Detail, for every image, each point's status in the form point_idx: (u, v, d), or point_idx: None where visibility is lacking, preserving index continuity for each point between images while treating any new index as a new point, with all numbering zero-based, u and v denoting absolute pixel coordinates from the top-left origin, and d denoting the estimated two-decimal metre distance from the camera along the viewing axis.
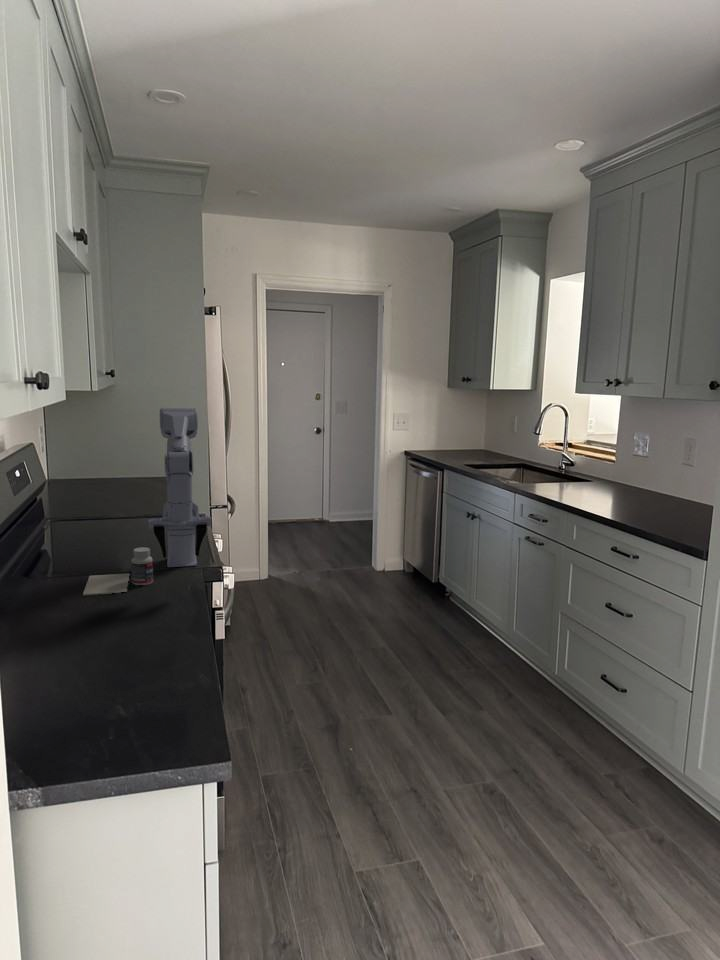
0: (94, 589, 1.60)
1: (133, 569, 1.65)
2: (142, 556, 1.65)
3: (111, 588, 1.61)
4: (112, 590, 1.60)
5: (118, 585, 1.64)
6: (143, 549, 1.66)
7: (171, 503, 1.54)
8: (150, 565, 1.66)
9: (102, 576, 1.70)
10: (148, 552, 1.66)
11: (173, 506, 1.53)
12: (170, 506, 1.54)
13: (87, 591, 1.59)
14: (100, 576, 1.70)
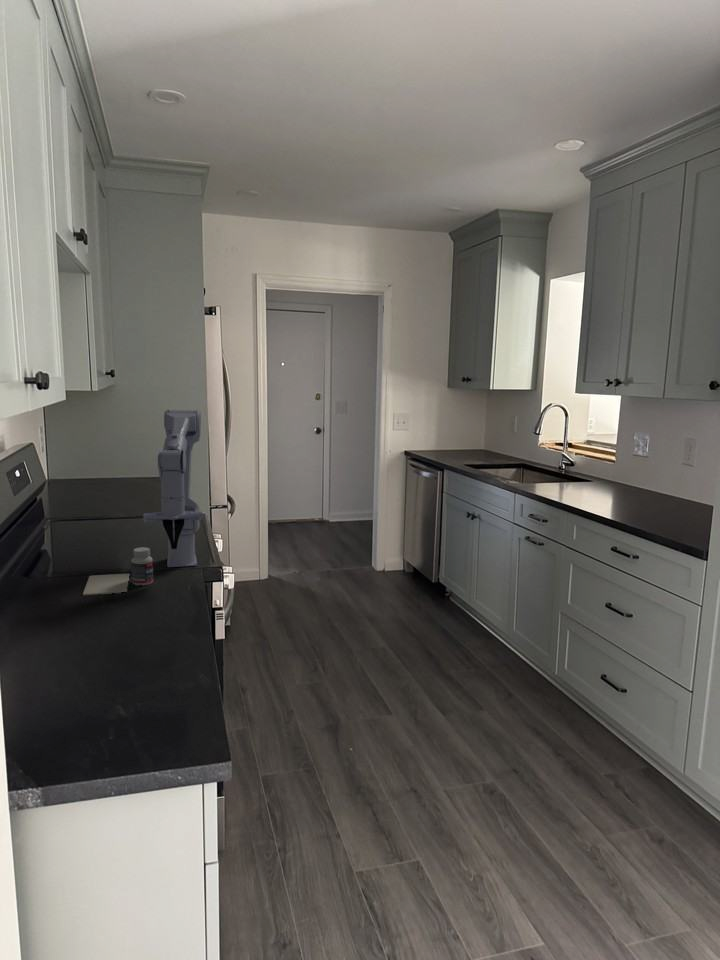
0: (94, 589, 1.60)
1: (133, 569, 1.65)
2: (142, 556, 1.65)
3: (111, 588, 1.61)
4: (112, 590, 1.60)
5: (118, 585, 1.64)
6: (143, 549, 1.66)
7: (164, 498, 1.63)
8: (151, 565, 1.66)
9: (102, 576, 1.70)
10: (148, 552, 1.66)
11: (166, 501, 1.63)
12: (163, 501, 1.64)
13: (87, 591, 1.59)
14: (100, 576, 1.70)
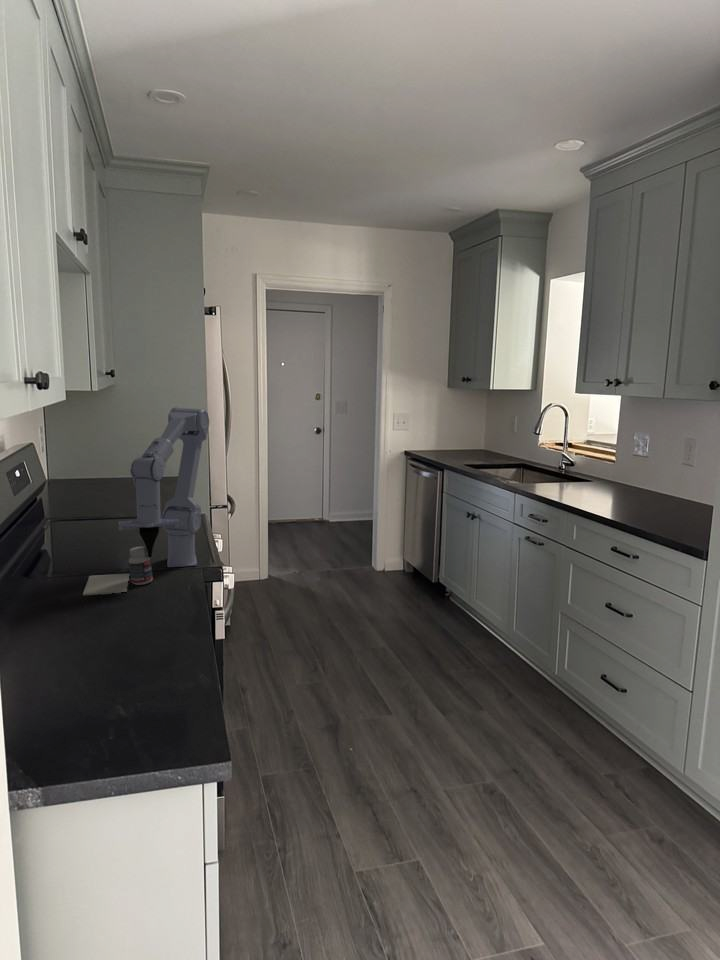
0: (94, 589, 1.60)
1: (131, 569, 1.64)
2: (139, 556, 1.64)
3: (111, 588, 1.61)
4: (112, 590, 1.60)
5: (118, 585, 1.64)
6: (139, 548, 1.66)
7: (140, 506, 1.62)
8: (148, 563, 1.66)
9: (102, 576, 1.70)
10: (144, 551, 1.65)
11: (141, 509, 1.62)
12: (139, 509, 1.62)
13: (87, 591, 1.59)
14: (100, 576, 1.70)
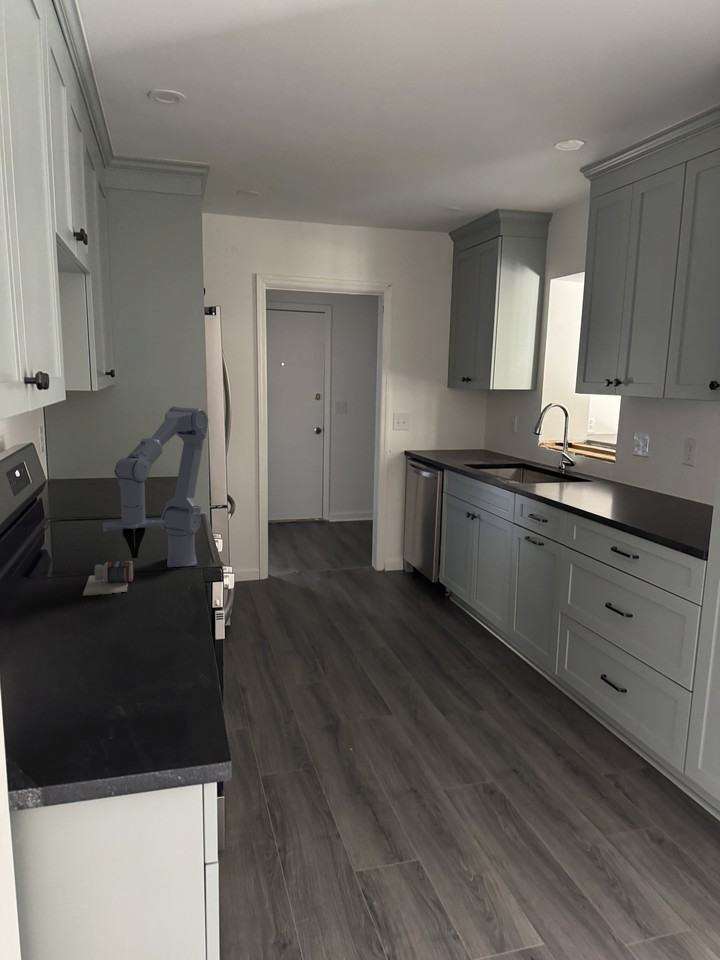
0: (94, 589, 1.60)
1: (114, 579, 1.64)
2: (100, 570, 1.64)
3: (111, 588, 1.61)
4: (112, 590, 1.60)
5: (118, 585, 1.64)
6: None
7: (124, 507, 1.61)
8: (111, 562, 1.65)
9: None
10: (97, 565, 1.64)
11: (126, 510, 1.61)
12: (123, 510, 1.61)
13: (87, 591, 1.59)
14: None
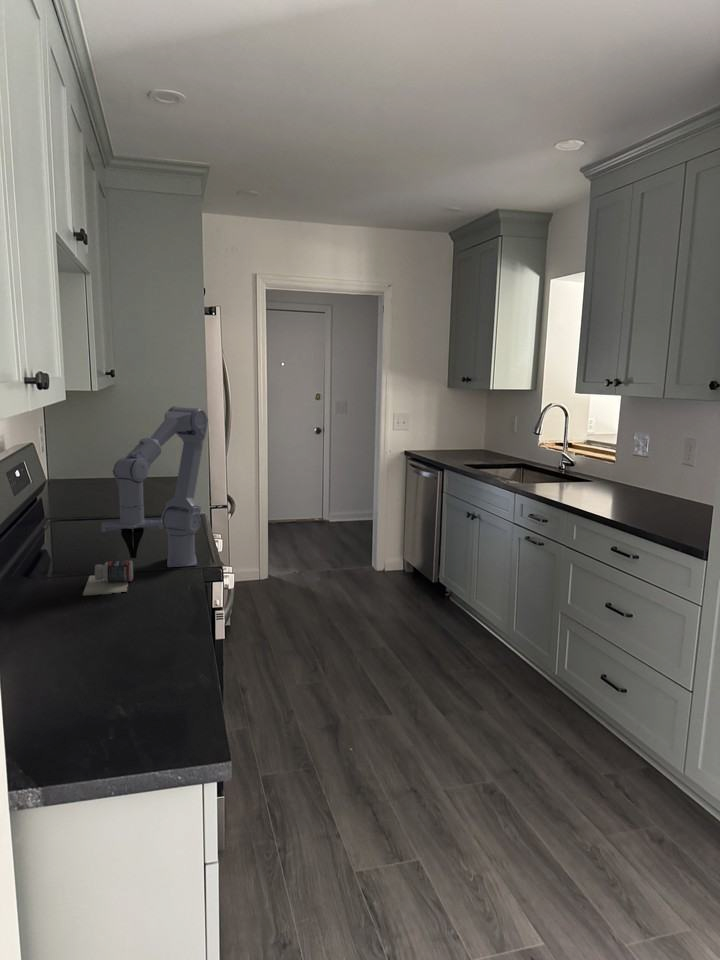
0: (94, 589, 1.60)
1: (114, 578, 1.64)
2: (100, 569, 1.64)
3: (111, 588, 1.61)
4: (112, 590, 1.60)
5: (118, 585, 1.64)
6: None
7: (122, 507, 1.61)
8: (111, 562, 1.65)
9: None
10: (97, 565, 1.65)
11: (124, 510, 1.61)
12: (122, 510, 1.61)
13: (87, 591, 1.59)
14: None
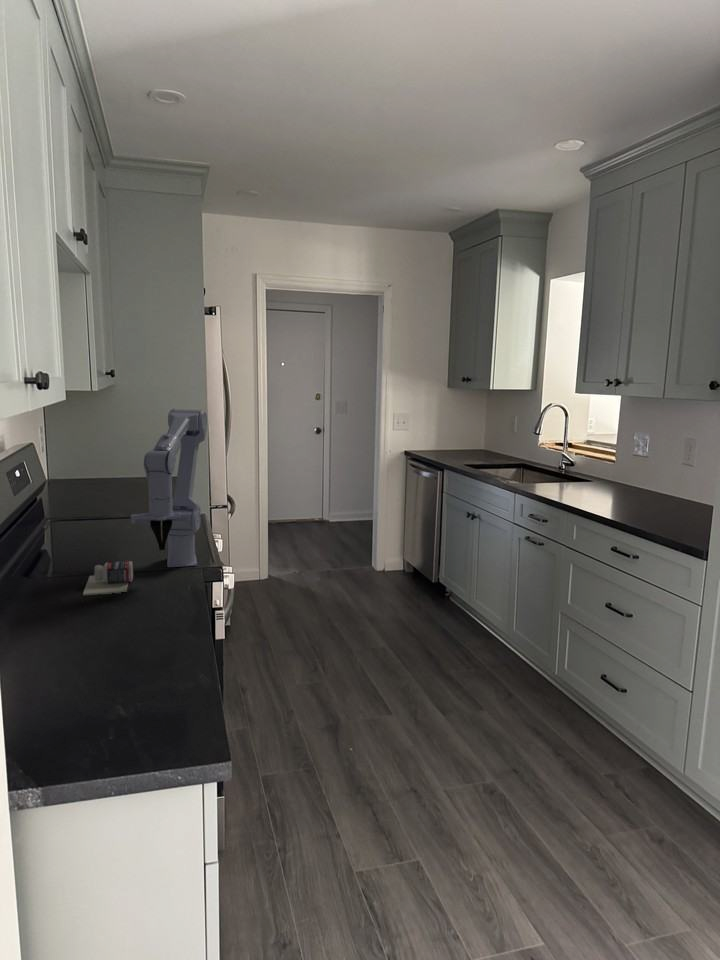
0: (94, 589, 1.60)
1: (114, 581, 1.64)
2: (100, 572, 1.63)
3: (111, 588, 1.61)
4: (112, 590, 1.60)
5: (118, 585, 1.64)
6: None
7: (152, 499, 1.62)
8: (110, 564, 1.64)
9: None
10: (97, 566, 1.64)
11: (154, 502, 1.62)
12: (151, 502, 1.63)
13: (87, 591, 1.59)
14: None
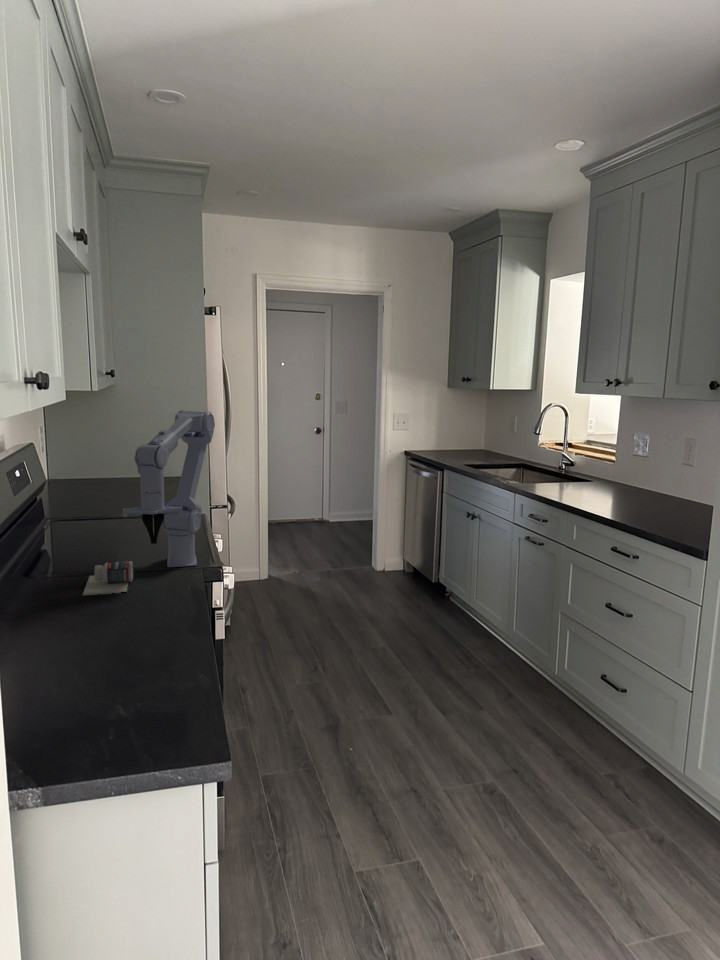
0: (94, 589, 1.60)
1: (114, 580, 1.64)
2: (100, 572, 1.63)
3: (111, 588, 1.61)
4: (112, 590, 1.60)
5: (118, 585, 1.64)
6: None
7: (144, 493, 1.64)
8: (110, 564, 1.64)
9: None
10: (97, 566, 1.64)
11: (145, 496, 1.63)
12: (143, 496, 1.64)
13: (87, 591, 1.59)
14: None
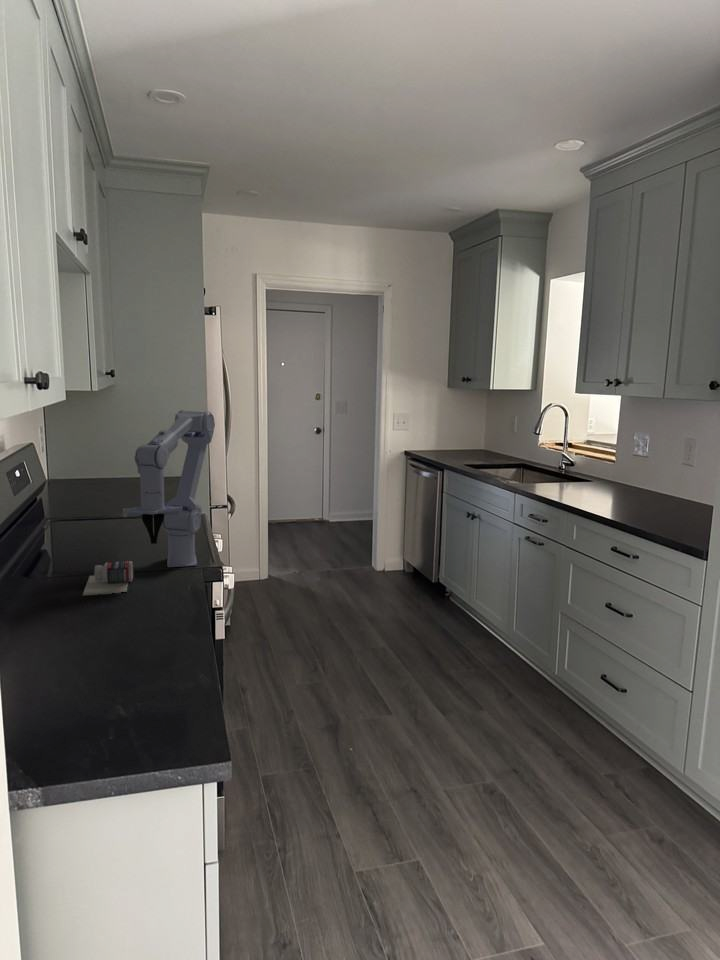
0: (94, 589, 1.60)
1: (114, 580, 1.64)
2: (100, 571, 1.63)
3: (111, 588, 1.61)
4: (112, 590, 1.60)
5: (118, 585, 1.64)
6: None
7: (144, 493, 1.64)
8: (111, 563, 1.64)
9: None
10: (97, 566, 1.64)
11: (145, 496, 1.63)
12: (143, 496, 1.64)
13: (87, 591, 1.59)
14: None
